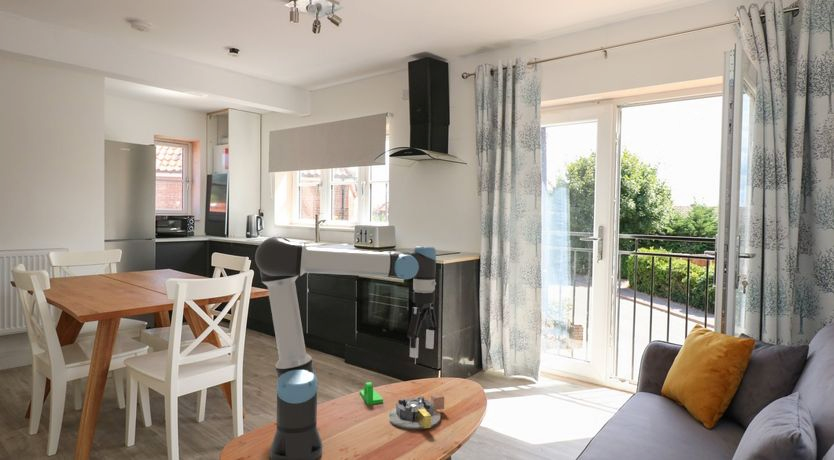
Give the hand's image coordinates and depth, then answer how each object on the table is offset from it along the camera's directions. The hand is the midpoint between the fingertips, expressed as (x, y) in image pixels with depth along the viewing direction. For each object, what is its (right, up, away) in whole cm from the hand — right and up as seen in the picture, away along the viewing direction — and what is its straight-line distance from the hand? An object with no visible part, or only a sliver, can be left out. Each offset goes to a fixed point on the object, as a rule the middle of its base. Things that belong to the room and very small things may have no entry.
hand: (421, 352), depth 167 cm
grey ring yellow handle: (-1, -23, +1) cm, 23 cm away
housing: (-1, -24, +4) cm, 25 cm away
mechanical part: (-20, -24, +22) cm, 38 cm away
